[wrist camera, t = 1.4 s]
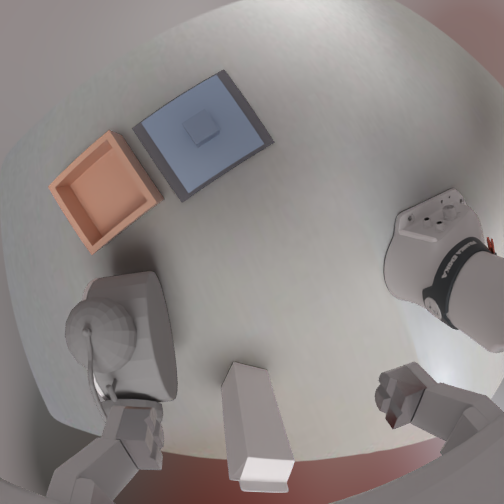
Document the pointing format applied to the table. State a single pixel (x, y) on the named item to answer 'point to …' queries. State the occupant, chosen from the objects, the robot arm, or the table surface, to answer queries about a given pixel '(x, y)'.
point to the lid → (202, 133)
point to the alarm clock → (125, 342)
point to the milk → (254, 431)
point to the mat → (183, 193)
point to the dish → (104, 191)
